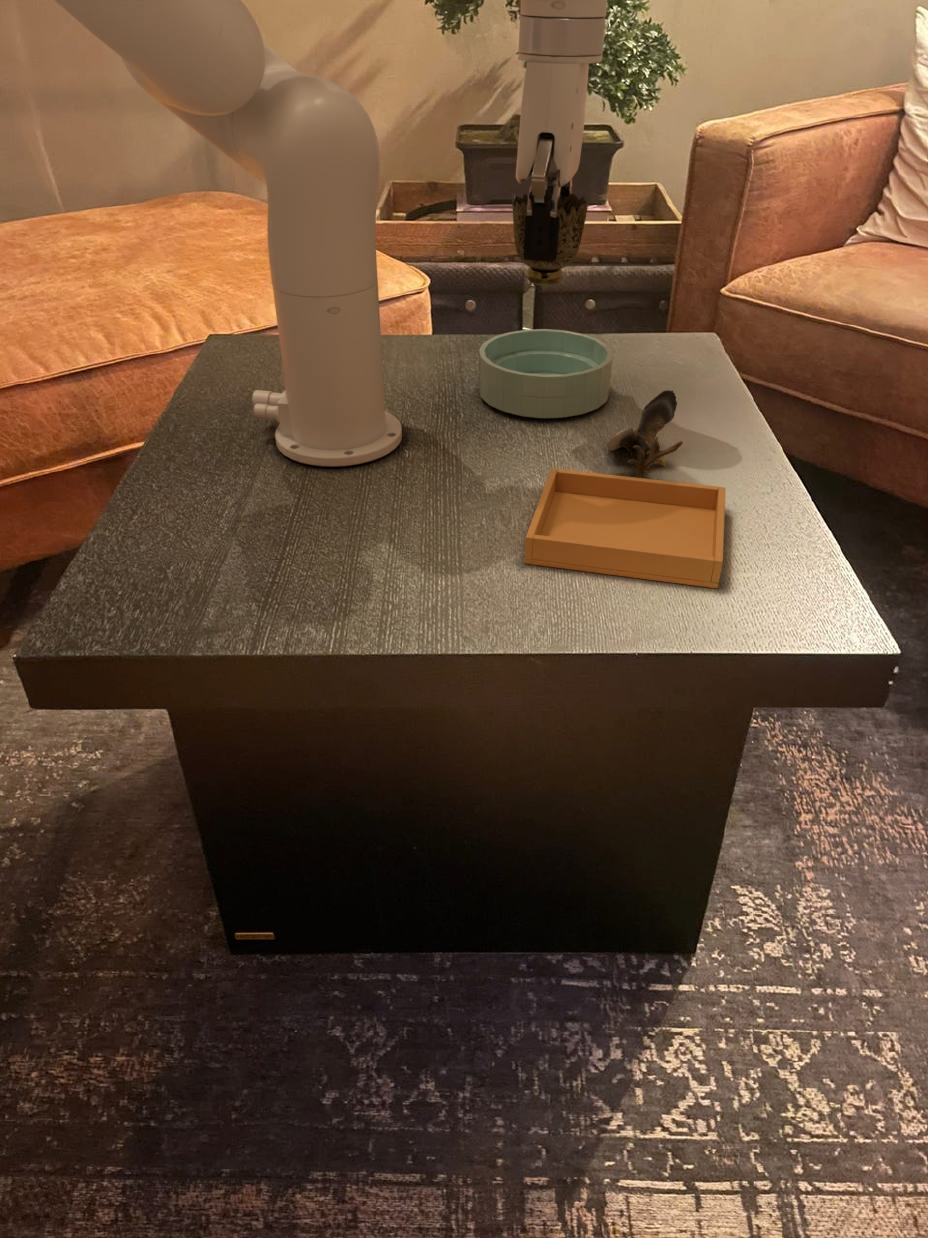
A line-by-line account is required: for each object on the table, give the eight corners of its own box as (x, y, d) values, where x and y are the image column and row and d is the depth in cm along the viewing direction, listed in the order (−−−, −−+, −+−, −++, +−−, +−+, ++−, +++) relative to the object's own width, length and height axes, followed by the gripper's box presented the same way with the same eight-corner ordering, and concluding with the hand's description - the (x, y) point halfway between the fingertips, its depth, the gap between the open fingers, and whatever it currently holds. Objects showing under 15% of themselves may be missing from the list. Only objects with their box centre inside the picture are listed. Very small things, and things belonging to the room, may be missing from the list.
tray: (524, 563, 74) (525, 536, 72) (549, 492, 83) (551, 467, 82) (717, 588, 71) (723, 561, 69) (720, 512, 80) (725, 487, 79)
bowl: (465, 415, 97) (465, 369, 94) (494, 366, 108) (495, 324, 105) (599, 428, 94) (603, 381, 92) (615, 377, 106) (619, 334, 103)
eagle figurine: (701, 474, 84) (692, 417, 90) (667, 417, 80) (660, 361, 86) (625, 507, 87) (622, 449, 93) (589, 454, 83) (588, 398, 89)
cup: (503, 272, 96) (507, 189, 92) (571, 272, 97) (579, 190, 92) (514, 293, 90) (519, 205, 86) (587, 292, 91) (596, 205, 86)
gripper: (536, 33, 89) (525, 227, 99) (499, 46, 75) (491, 269, 86) (613, 36, 88) (595, 232, 98) (590, 49, 74) (571, 276, 84)
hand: (547, 248), depth 92 cm, fingers closed on cup, 7 cm apart
